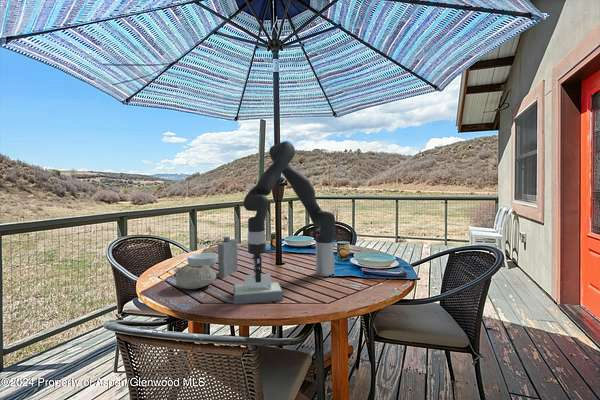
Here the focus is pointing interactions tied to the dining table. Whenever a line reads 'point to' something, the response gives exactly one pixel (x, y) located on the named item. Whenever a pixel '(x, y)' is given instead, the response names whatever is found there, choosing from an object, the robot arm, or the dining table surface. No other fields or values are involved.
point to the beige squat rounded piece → (195, 276)
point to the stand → (257, 294)
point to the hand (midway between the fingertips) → (257, 279)
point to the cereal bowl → (203, 259)
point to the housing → (252, 285)
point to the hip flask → (227, 257)
